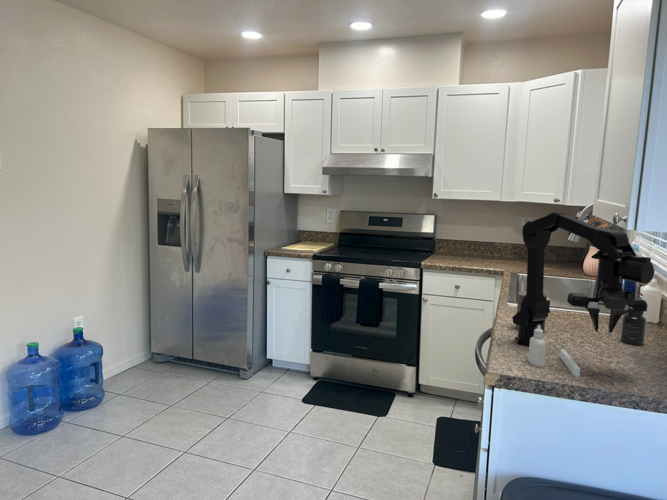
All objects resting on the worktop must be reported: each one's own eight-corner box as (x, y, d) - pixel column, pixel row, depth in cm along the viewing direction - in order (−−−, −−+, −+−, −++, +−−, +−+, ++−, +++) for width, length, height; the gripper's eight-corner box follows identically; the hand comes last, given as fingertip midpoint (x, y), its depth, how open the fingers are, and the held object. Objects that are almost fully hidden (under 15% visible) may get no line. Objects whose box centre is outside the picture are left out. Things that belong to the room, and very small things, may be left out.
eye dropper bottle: (544, 364, 143) (547, 324, 141) (543, 370, 138) (547, 329, 136) (528, 361, 144) (531, 322, 143) (527, 367, 139) (530, 326, 138)
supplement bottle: (622, 338, 171) (625, 304, 169) (645, 342, 166) (649, 307, 165) (618, 342, 165) (622, 307, 164) (642, 347, 161) (646, 311, 159)
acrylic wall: (559, 359, 147) (560, 349, 147) (563, 359, 147) (564, 349, 147) (574, 379, 132) (575, 368, 131) (579, 379, 131) (580, 368, 131)
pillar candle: (546, 336, 170) (550, 293, 168) (517, 333, 172) (520, 292, 170) (540, 328, 180) (544, 288, 178) (513, 326, 182) (516, 286, 180)
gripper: (580, 280, 128) (575, 337, 130) (659, 285, 125) (652, 344, 127) (569, 272, 139) (564, 326, 141) (641, 277, 135) (635, 331, 138)
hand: (603, 332), depth 136 cm, fingers open, 3 cm apart
